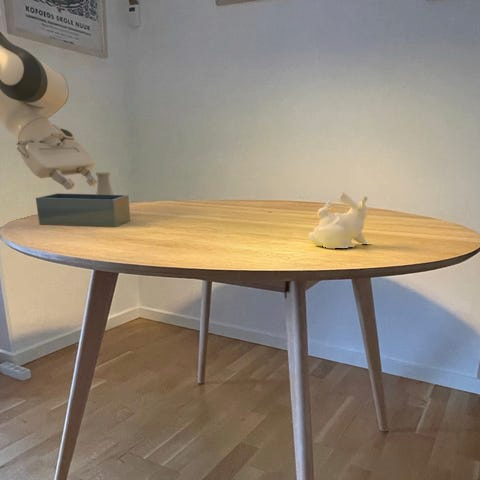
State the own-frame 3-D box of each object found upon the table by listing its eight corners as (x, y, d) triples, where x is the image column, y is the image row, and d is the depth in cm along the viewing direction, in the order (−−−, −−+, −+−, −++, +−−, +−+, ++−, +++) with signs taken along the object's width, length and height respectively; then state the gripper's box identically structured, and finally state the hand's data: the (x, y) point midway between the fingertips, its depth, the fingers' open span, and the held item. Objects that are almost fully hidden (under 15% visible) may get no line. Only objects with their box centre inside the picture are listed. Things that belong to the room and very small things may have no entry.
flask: (89, 218, 109) (85, 173, 106) (92, 213, 116) (88, 171, 112) (121, 217, 111) (118, 173, 107) (122, 213, 117) (119, 171, 114)
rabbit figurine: (371, 243, 87) (377, 189, 83) (381, 252, 80) (388, 194, 76) (306, 242, 87) (309, 188, 83) (311, 251, 80) (314, 193, 76)
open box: (39, 224, 101) (35, 197, 99) (59, 217, 110) (56, 193, 108) (115, 227, 99) (113, 200, 97) (130, 220, 108) (128, 195, 106)
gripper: (18, 130, 100) (63, 179, 101) (75, 132, 118) (113, 173, 119) (4, 152, 103) (48, 199, 104) (62, 150, 121) (99, 190, 122)
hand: (83, 185), depth 112 cm, fingers open, 8 cm apart
